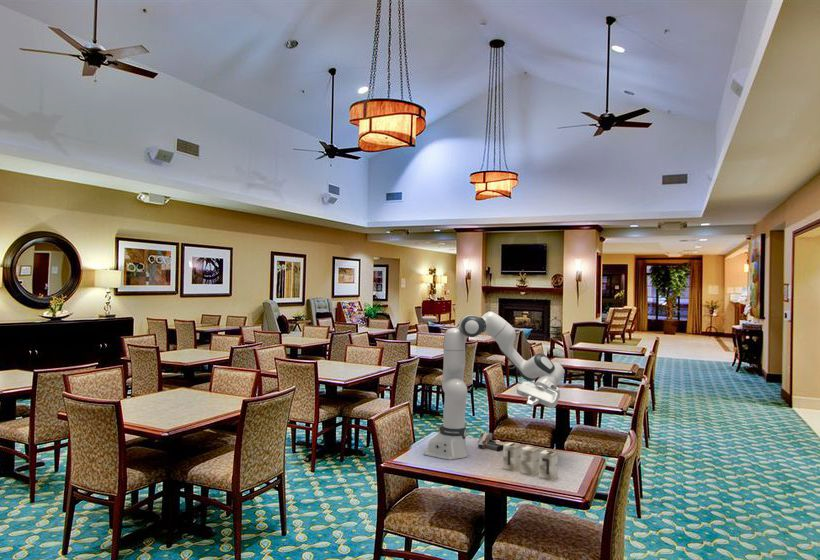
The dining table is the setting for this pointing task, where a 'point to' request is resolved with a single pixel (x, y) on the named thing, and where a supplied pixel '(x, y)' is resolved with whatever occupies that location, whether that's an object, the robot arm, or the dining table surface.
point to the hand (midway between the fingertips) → (529, 404)
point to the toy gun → (488, 442)
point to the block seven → (548, 465)
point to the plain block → (530, 461)
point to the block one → (512, 456)
